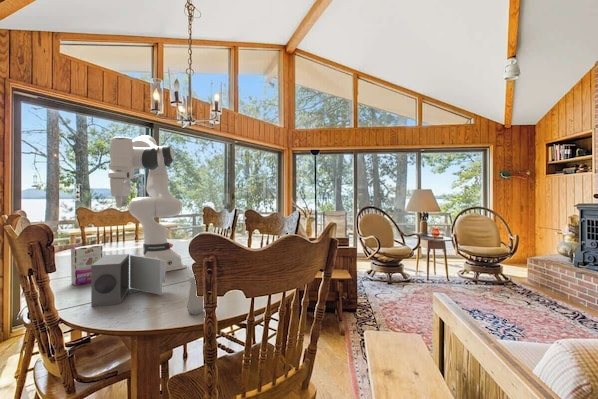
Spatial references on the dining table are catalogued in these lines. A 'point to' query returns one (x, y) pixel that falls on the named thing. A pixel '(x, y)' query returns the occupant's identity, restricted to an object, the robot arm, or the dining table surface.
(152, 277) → the door
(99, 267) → the housing
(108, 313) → the dining table surface
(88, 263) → the candy bar box
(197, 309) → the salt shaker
